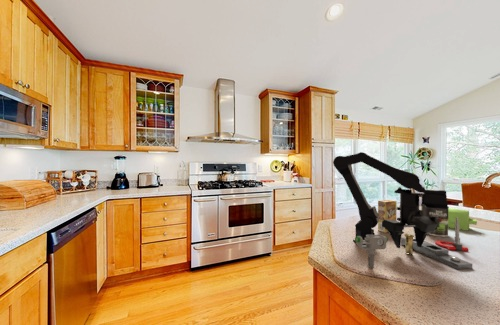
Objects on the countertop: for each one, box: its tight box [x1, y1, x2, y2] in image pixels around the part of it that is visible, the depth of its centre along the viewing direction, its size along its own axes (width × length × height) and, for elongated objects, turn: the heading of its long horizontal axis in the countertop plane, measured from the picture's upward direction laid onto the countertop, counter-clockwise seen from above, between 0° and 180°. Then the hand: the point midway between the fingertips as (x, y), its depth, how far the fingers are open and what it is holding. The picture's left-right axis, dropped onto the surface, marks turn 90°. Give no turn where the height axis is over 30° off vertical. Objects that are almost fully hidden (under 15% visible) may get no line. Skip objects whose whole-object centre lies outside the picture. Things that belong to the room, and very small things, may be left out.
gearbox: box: [448, 207, 478, 231], centre depth 113 cm, size 18×10×10 cm, turn 40°
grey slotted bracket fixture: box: [401, 236, 473, 270], centre depth 76 cm, size 6×21×4 cm, turn 9°
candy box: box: [377, 199, 398, 234], centre depth 104 cm, size 9×4×15 cm, turn 114°
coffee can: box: [420, 202, 450, 238], centre depth 102 cm, size 10×10×14 cm
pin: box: [404, 233, 415, 254], centre depth 77 cm, size 3×3×7 cm
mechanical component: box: [354, 234, 389, 269], centre depth 67 cm, size 3×10×10 cm, turn 95°
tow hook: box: [434, 218, 469, 252], centre depth 85 cm, size 8×13×9 cm
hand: (408, 247), depth 77 cm, fingers open, 9 cm apart
